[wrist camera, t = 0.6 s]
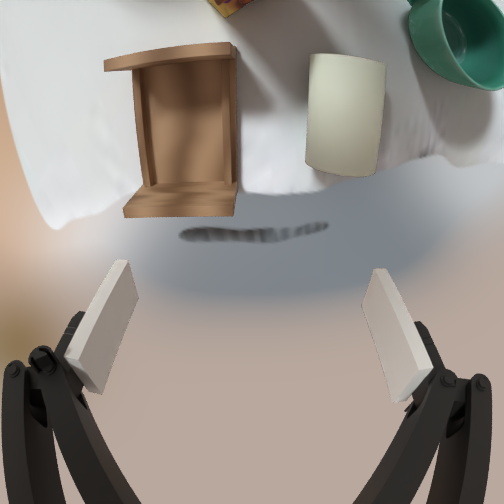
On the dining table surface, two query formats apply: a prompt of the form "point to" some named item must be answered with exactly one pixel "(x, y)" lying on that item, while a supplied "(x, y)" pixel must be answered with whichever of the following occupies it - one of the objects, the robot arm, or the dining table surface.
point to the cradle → (184, 129)
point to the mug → (460, 40)
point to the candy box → (228, 5)
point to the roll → (344, 114)
